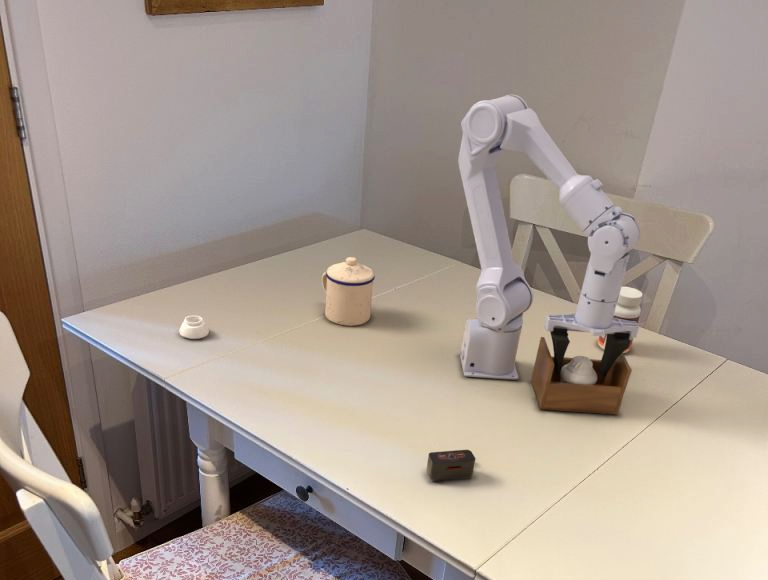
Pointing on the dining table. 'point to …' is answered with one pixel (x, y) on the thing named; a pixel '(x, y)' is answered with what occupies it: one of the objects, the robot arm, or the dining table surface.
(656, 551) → the dining table surface
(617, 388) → the wooden crate
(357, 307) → the teacup with lid
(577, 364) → the white swirled dome
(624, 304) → the pill bottle
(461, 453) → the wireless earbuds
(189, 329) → the white jar
